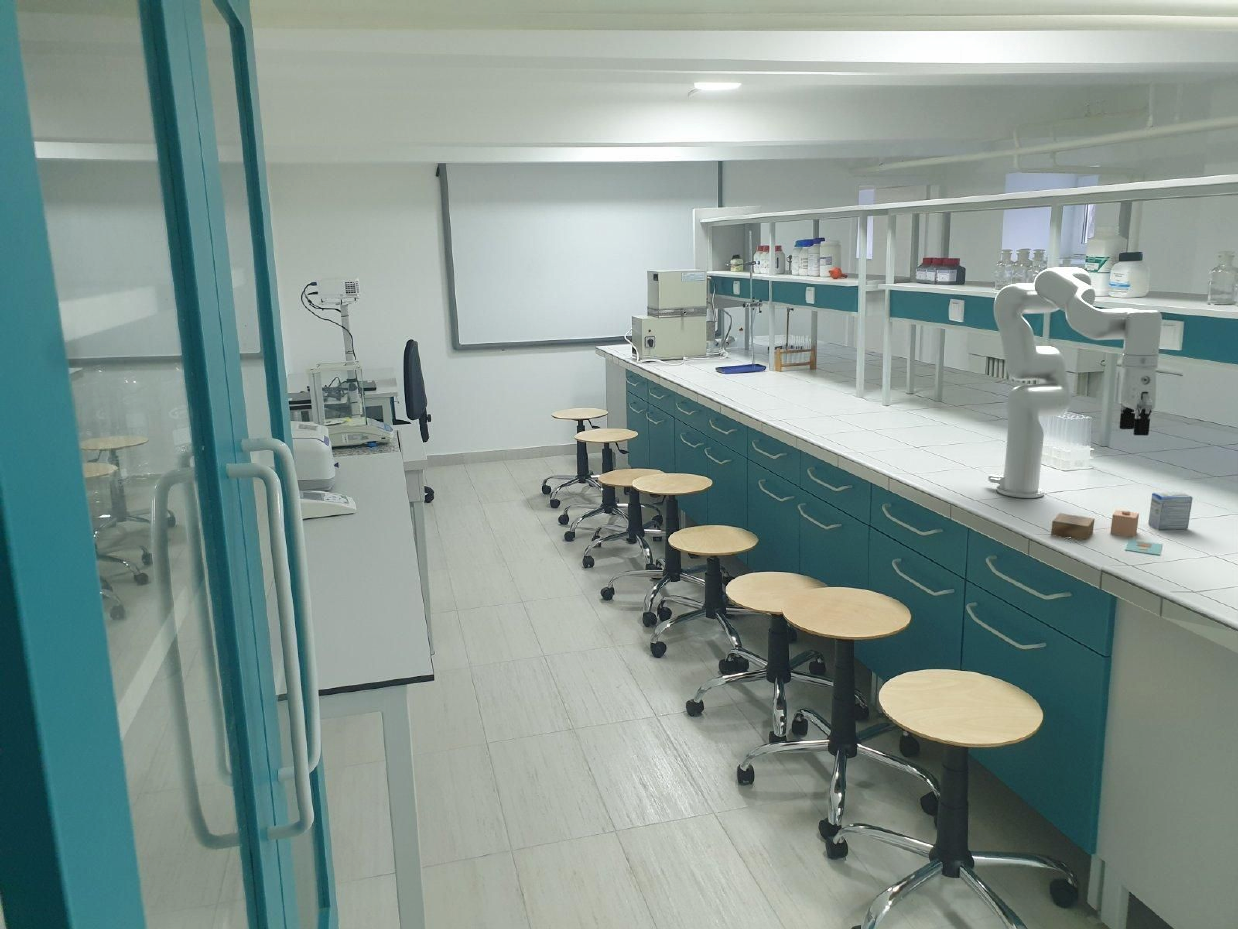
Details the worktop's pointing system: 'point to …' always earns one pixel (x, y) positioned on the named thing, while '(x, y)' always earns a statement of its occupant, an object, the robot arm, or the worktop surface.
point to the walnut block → (1072, 526)
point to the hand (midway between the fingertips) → (1133, 432)
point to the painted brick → (1124, 523)
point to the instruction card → (1143, 547)
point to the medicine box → (1170, 510)
